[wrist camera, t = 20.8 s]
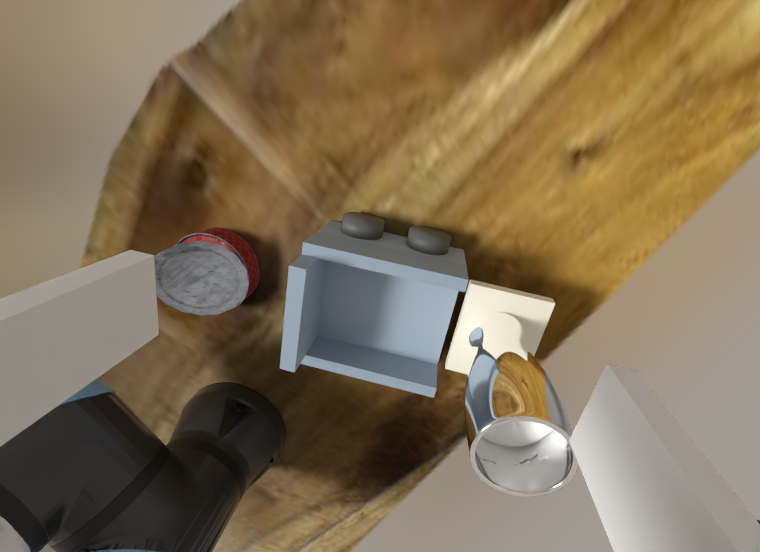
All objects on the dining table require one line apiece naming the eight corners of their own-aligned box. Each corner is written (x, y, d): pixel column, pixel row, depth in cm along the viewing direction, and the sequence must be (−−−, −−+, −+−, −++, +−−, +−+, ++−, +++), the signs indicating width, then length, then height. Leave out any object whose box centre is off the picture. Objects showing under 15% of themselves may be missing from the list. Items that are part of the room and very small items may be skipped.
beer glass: (548, 342, 37) (608, 468, 23) (492, 380, 39) (515, 514, 25) (500, 293, 36) (531, 394, 22) (446, 335, 38) (443, 450, 24)
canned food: (245, 217, 49) (237, 214, 39) (272, 289, 51) (271, 303, 41) (153, 245, 46) (121, 249, 37) (185, 319, 48) (163, 341, 39)
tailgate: (445, 368, 40) (521, 388, 39) (470, 283, 36) (555, 303, 35) (445, 360, 41) (518, 379, 40) (469, 278, 37) (551, 297, 36)
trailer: (316, 331, 47) (277, 392, 36) (333, 206, 41) (292, 233, 30) (501, 377, 45) (519, 456, 34) (547, 253, 39) (588, 300, 28)
